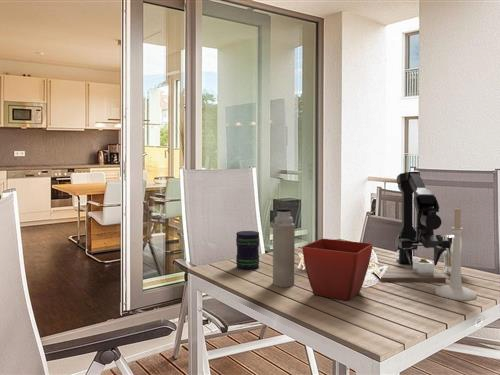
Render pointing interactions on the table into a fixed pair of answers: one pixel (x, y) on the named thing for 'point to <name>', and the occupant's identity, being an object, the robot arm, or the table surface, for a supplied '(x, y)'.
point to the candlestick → (456, 268)
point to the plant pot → (336, 267)
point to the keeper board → (410, 276)
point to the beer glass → (449, 253)
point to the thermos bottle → (283, 249)
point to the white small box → (423, 267)
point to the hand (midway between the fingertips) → (423, 265)
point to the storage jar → (247, 250)
